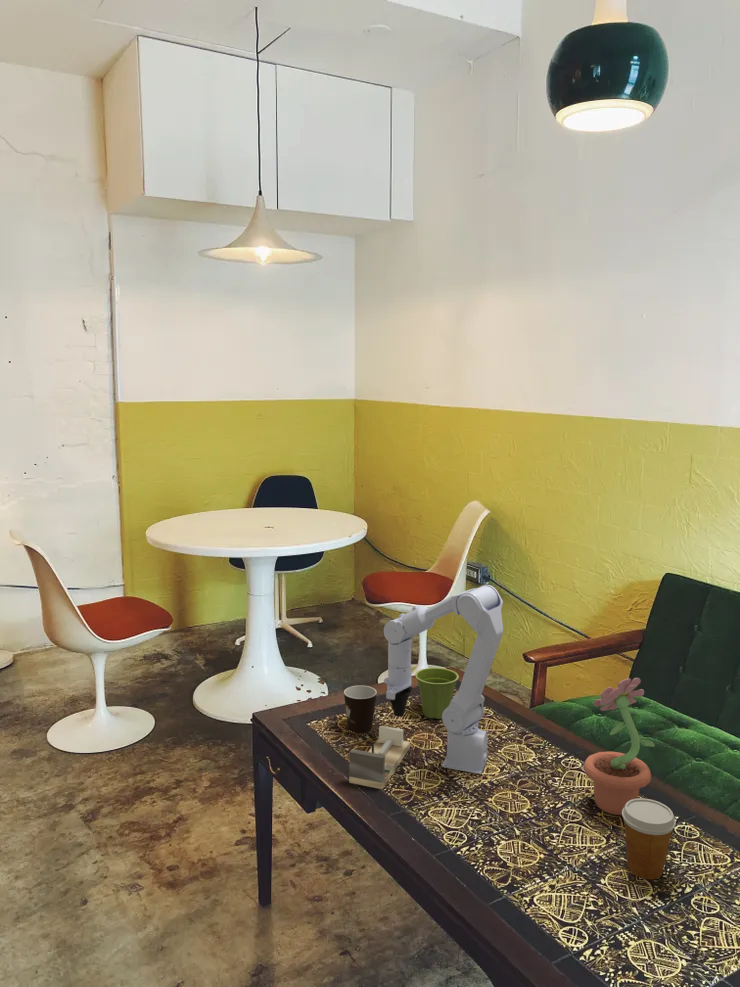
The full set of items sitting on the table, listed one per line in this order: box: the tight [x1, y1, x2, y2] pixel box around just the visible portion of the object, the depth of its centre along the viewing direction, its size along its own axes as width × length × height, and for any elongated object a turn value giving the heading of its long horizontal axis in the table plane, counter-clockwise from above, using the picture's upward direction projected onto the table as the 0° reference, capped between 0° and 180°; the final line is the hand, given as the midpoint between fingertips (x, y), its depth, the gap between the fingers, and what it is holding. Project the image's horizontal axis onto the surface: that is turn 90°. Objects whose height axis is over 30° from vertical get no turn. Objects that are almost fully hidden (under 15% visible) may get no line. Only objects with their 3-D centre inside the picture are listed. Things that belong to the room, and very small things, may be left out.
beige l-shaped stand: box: [348, 737, 411, 790], centre depth 184 cm, size 21×8×8 cm, turn 160°
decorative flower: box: [583, 677, 656, 816], centre depth 166 cm, size 15×14×30 cm
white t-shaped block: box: [378, 725, 404, 755], centre depth 188 cm, size 8×6×4 cm
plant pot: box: [414, 667, 460, 720], centre depth 212 cm, size 12×12×11 cm
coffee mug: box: [343, 685, 378, 734], centre depth 205 cm, size 12×9×10 cm
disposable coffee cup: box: [621, 797, 677, 880], centre depth 146 cm, size 10×10×12 cm
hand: (399, 715), depth 196 cm, fingers closed
